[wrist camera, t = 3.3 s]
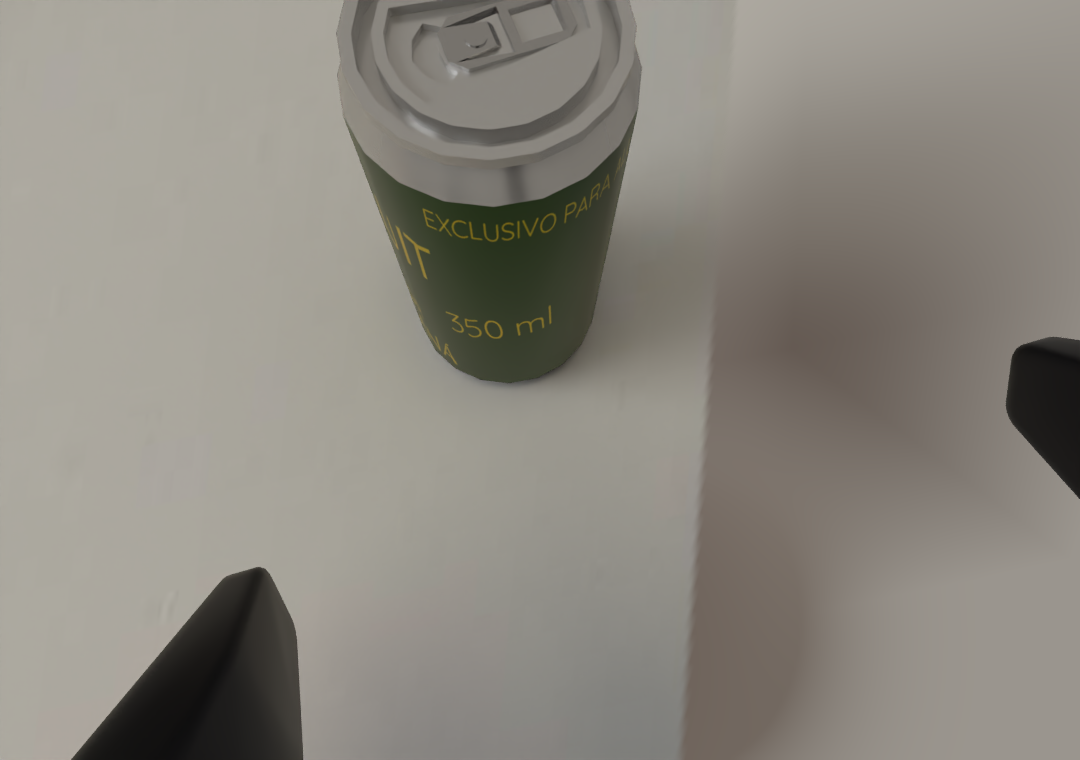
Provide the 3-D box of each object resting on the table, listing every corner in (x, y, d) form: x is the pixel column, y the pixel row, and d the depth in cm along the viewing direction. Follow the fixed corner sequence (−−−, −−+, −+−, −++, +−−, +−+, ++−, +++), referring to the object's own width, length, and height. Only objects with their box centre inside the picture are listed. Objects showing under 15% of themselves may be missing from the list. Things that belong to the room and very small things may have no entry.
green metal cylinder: (557, 210, 25) (580, -131, 13) (618, 356, 23) (703, 114, 12) (400, 261, 24) (284, -50, 13) (453, 414, 23) (377, 217, 11)
